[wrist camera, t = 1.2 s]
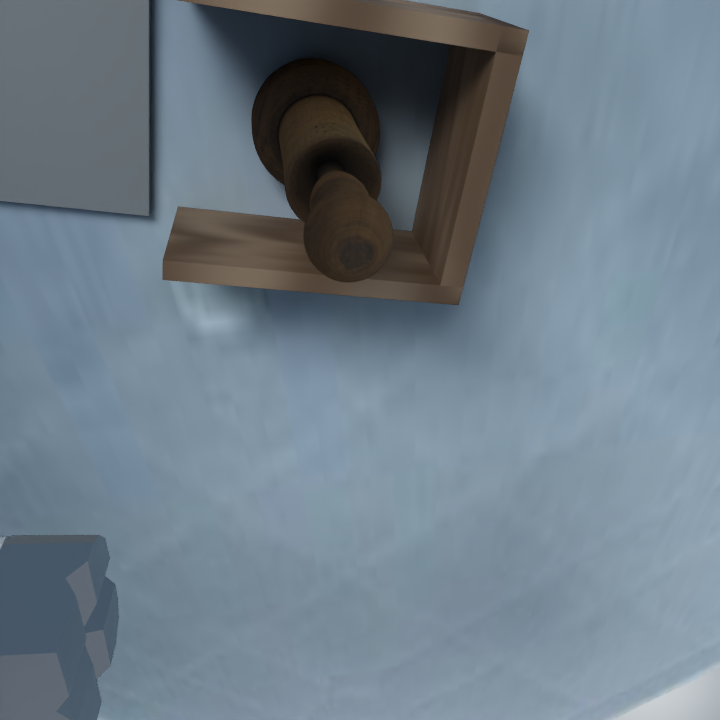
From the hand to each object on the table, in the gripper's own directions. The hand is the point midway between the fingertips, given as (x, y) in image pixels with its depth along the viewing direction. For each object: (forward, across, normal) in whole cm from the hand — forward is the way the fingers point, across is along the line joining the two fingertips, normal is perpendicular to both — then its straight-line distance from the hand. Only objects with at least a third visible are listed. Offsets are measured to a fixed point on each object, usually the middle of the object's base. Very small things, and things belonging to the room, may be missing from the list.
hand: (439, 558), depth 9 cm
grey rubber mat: (+32, +14, 0) cm, 35 cm away
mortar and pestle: (+32, +1, +2) cm, 33 cm away
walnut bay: (+32, +1, +2) cm, 32 cm away
